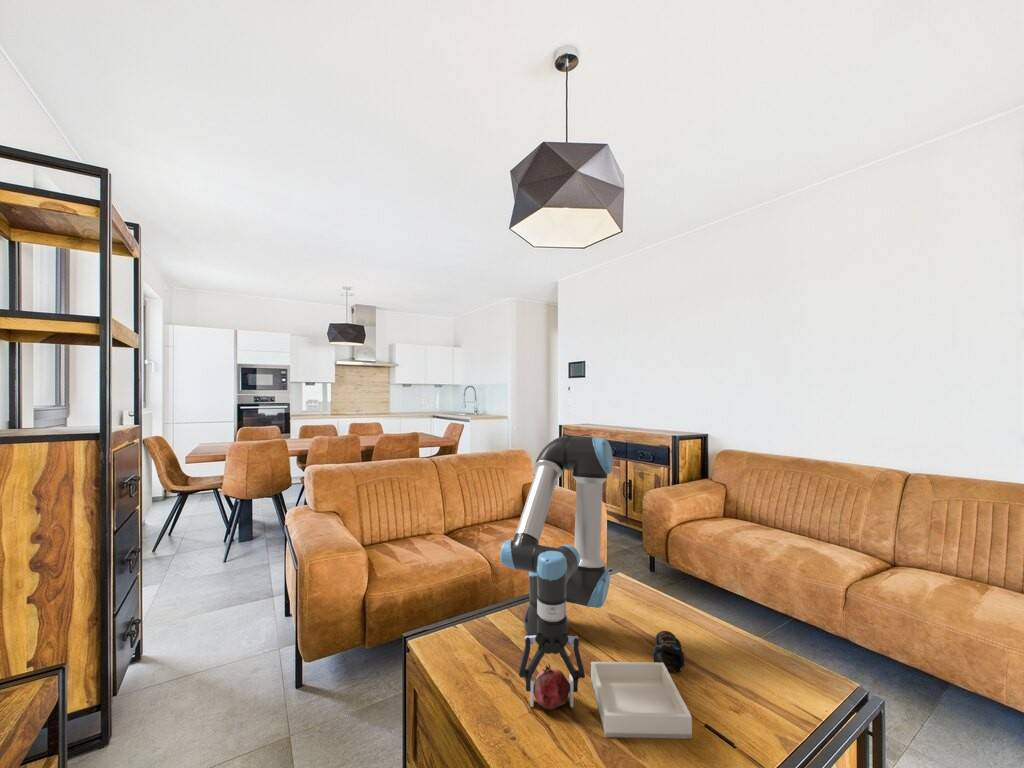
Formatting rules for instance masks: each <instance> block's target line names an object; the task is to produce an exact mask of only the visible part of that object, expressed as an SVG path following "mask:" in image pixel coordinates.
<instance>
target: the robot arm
mask: <svg viewBox="0 0 1024 768" xmlns="http://www.w3.org/2000/svg"><path fill="white" fill-rule="evenodd" d="M613 458H614V457H613V453H612V447H611V445H610V443H609V440H607V439H606V438H602V437H595V436H591V437H590V436H569V435H562V436H559V437H556V438H555V439H553V440H552V441H550V442H549V443H548V444H546V445H545V446H544V447H543V448H542V450H541V451H540V453H539V454H538V456H537V458H536V460H535V464H534V470H535V473H534V477H533V479H532V483H531V485H530V488H529V491H528V494H527V496H526V500H525V504H524V506H523V510H522V513H521V515H520V518H519V521H518V525H517V528H516V530H515V533H514V537H513V538H512V539H513V540H512V539H507V540H505V541H504V542H503V544H502V545H501V548H500V551H499V552H500V553H499V557H500V558H499V559H500V562H501V564H502V565H503V567H506V568H509V569H513V570H515V571H517V570H520V571H525V572H528V588H529V589H528V593H529V594H528V595H529V597H528V599H529V600H528V606H527V609H526V613H525V616H524V619H523V628H524V631H525V632H526V633H525V635H524V636H525V637H524V642H525V645H524V649H523V651H522V657H521V660H520V664H519V666H518V667H519V668H518V676H519V677H520V678H524V679H525V690H526V692H529V693H530V694H529V697H530V700H529V702H530V707H531V708H533V707H534V698H535V696H534V684H535V681H534V673H535V671H536V670H537V668H538V666H539V664H540V662H541V660H542V659H543V658H544V656H545V655H546V654H547V655H550V654H553V655H560V658H562V661H563V662H564V664H565V667H566V668H567V670H568V672H569V676H568V679H569V680H568V682H569V684H570V691H569V695H568V697H569V699H568V700H569V706H570V708H574V693H577V692H578V690H579V689H578V688H579V685H578V684H579V683H578V682H579V679H585V678H586V675H585V670H584V666H583V662H582V658H581V654H580V650H579V647H580V646H579V645H580V641H579V637H578V635H577V634H575V633H574V634H573V635H568V632H569V629H570V628H569V627H570V625H569V624H570V623H569V622H570V621H569V618H568V615H567V603H570V604H573V605H574V604H575V605H580V606H584V607H587V608H595V609H599V608H600V609H601V608H602V607H603V606H604V605H605V602H606V601H607V596H608V593H609V588H610V583H611V582H610V581H611V572H610V571H609V570H608V569H606V562H604V561H603V560H604V559H602V557H601V545H602V515H603V514H602V511H603V510H602V509H603V483H604V482H605V481H607V480H608V475H609V474H613V473H612V472H613V469H614V468H613V467H614V460H613ZM563 471H571V472H572V478H573V479H574V480H575V483H576V489H575V492H576V493H575V494H576V495H575V521H574V523H575V524H574V544H573V545H574V546H573V545H571V544H563V545H562V544H561V545H560V546H558V547H554V546H547V545H542V544H539V542H540V539H541V536H542V533H543V528H544V525H545V522H546V519H547V515H548V512H549V508H550V505H551V502H552V498H553V495H554V491H555V488H556V484H557V481H558V479H559V478H561V476H562V475H563ZM535 642H536V643H537V650H536V651H535V654H534V655H533V657H532V659H531V661H530V663H529V665H528V666H527V664H528V660H529V656H530V653H531V647H533V645H534V643H535ZM567 643H569V645H570V646H571V647H572V649H573V653H574V657H575V661H576V664H577V668H578V669H576V667H575V666H574V664H573V662H572V660H571V658H570V656H569V654H568V653H567V651H566V648H565V647H566V645H568V644H567Z"/></svg>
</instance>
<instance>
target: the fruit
mask: <svg viewBox="0 0 1024 768" xmlns="http://www.w3.org/2000/svg"><path fill="white" fill-rule="evenodd" d="M569 691H570V684H569V680H568V679H567V677H566V675H565V674H564V673H563V671H561V670H559V669H557V668H554V667H551V665H550V663H548V665H545V667H544V668H542V670H541V671H540V672H539V673H538V675H537V677H536V679H535V681H534V699H535V701H536V702H537V703H538V705H540V707H542V708H543V709H546V710H549V711H553V710H555V709H556V708H559V707H561V706H563V705H565V704H566V702H567V701H568V697H569Z"/></svg>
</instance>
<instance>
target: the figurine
mask: <svg viewBox="0 0 1024 768" xmlns="http://www.w3.org/2000/svg"><path fill="white" fill-rule="evenodd" d="M681 644H682V643H681V641H680V640H679V639H678V638H677V637H676V635H675V634H674V633H672V632H671V631H669V630H662V631H661V630H660V632H658V633H657V634H656V636H655V647H654V649H653V652H652V657H653V662H657V663H664V665H665V667H666V669H667V670H668V672H669V673H670V672H673V673H681V672H682V670H681V669H682V668H685V657H684V652H683V649H682V645H681Z"/></svg>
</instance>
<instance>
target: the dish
mask: <svg viewBox="0 0 1024 768" xmlns="http://www.w3.org/2000/svg"><path fill="white" fill-rule="evenodd" d="M590 681H591V685H592V689H593V692H594V693H593V694H594V697H595V701H596V706H597V711H598V714H599V718H600V721H601V726H602V730H603V734H604V737H605V738H628V739H629V738H631V739H632V738H633V739H634V738H636V739H637V738H638V739H685V740H686V739H693V717H692V715H691V712H690V711H689V708H688V707H687V705H686V703H685V701H684V700H683V698H682V695H681V694H680V692H679V690H678V687H677V686H676V684H675V682H674V681H673V678H672V677H671V674H670V672H668V669H666V667H665V665H664V663H657V662H654V661H653V662H648V661H647V662H643V661H640V662H639V661H637V662H636V661H634V662H633V661H590Z"/></svg>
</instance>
